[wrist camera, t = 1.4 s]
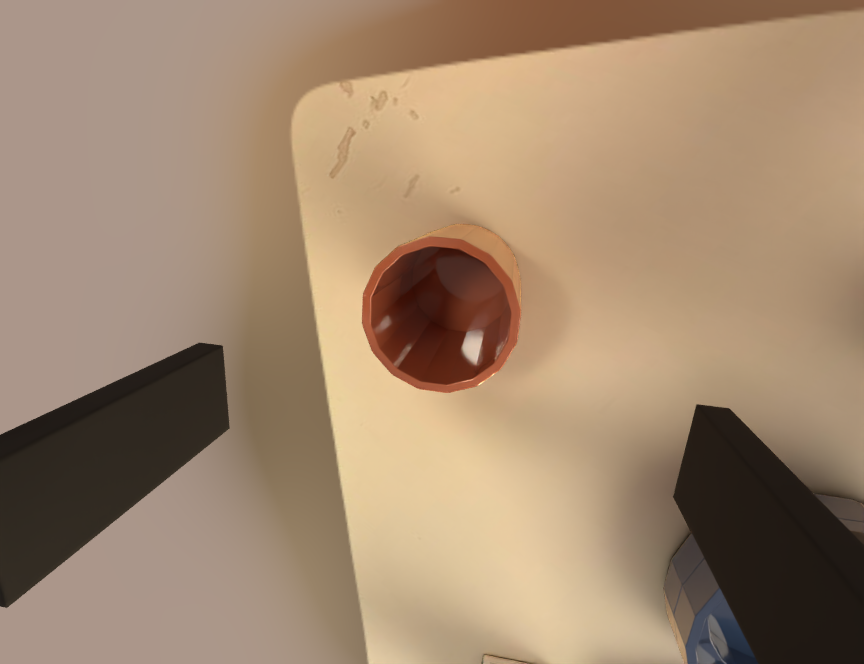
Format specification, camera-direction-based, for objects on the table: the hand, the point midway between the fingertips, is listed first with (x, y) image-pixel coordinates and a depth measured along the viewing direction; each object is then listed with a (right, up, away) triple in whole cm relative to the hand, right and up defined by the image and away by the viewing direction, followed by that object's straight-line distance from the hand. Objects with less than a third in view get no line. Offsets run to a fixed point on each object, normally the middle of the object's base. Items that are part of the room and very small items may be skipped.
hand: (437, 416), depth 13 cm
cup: (+2, +5, +15) cm, 16 cm away
